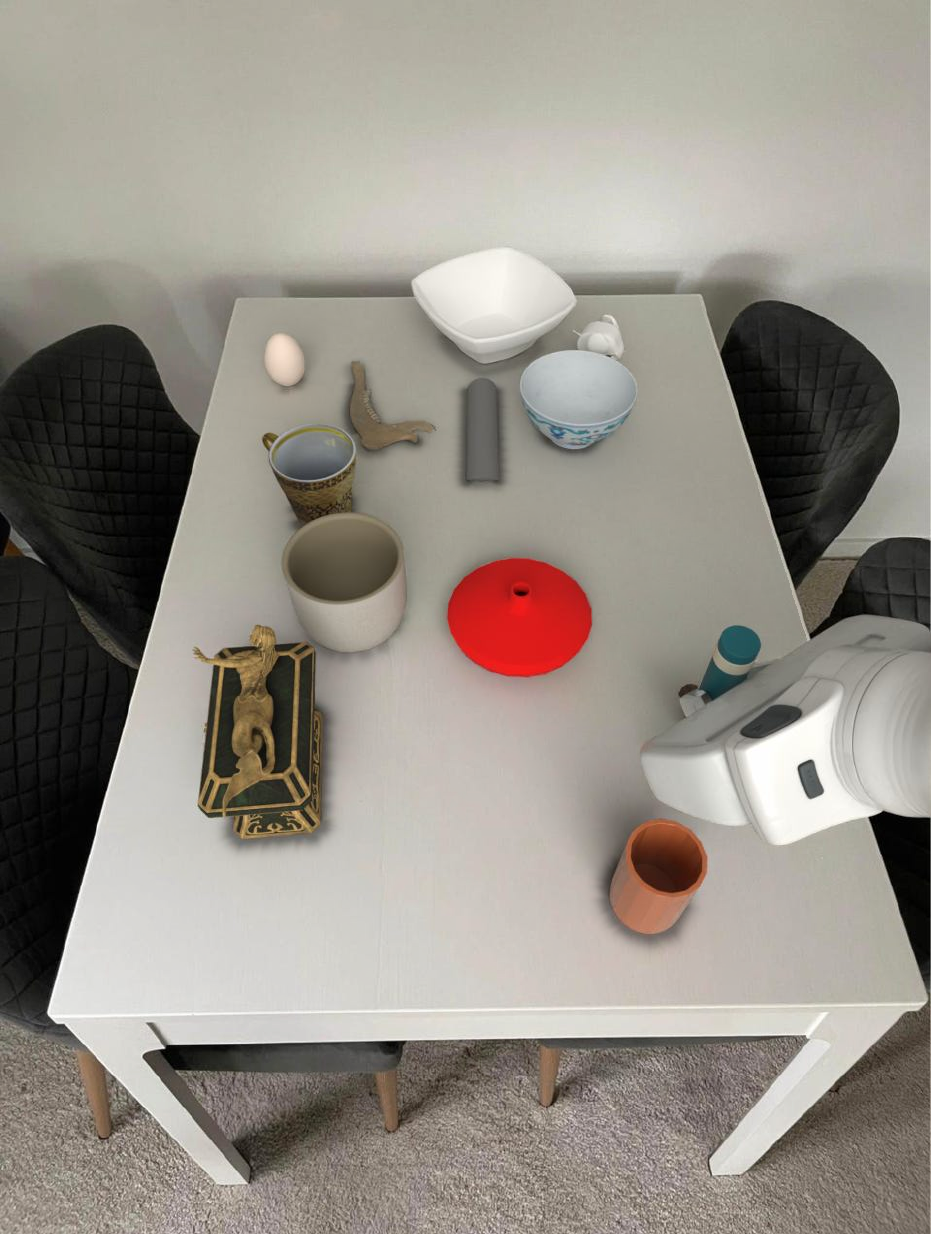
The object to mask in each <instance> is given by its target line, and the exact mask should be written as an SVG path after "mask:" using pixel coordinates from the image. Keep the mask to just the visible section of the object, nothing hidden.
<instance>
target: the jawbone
mask: <svg viewBox="0 0 931 1234" xmlns="http://www.w3.org/2000/svg"><path fill="white" fill-rule="evenodd" d="M351 372H352V375H353V377H354V378H353V379H354V386H353V387H354V388H353V391H352V395H351V398H350V403H349V417H350V421H351V423H352V426H353V427H354V429H355V431H356V432H357V433H358V435H359V436H360V444H361V445H362V447H364V448H365V449H367V450H381V449H383V448H385V447H387V446H389V445H391V444H394V443H397V442H400V441H409V442H411V443H413V444H417V443H418V440H419V439H418V438H419V437H418V433H417V430H423V431H425V432H427V433H429V434H430V433H431V432H432V431H435V432H437V429H436V426H435V425H434V424H432V423H430V422H428V421H426V420H420V419H419V420H417V419H416V420H415V419H414V420H407V421H403V422H399V423H395V424H387V423H386V424H385V423H381V420H380V419H381V418H380V417H379V415H377V412H375V409H374V406H373V405H372V403H371V401H372V399H371V398H372V390H371V389H366V385H365V371H364V367H363V364H362V362H361V361H360V360H358V361H355V360H354V361H351Z"/></svg>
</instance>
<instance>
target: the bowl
mask: <svg viewBox="0 0 931 1234" xmlns="http://www.w3.org/2000/svg"><path fill="white" fill-rule="evenodd" d="M410 286H411V290H412V294H413V297H414V299H415V300H416V302H417V303H418V304H419V306H420V307H421V309H422V310H423V311H424V313H425V314H426V316H427V317H428V318H429V320H430V321H431V322H432V323H433V324H434V326H435V327H436V328H437V329H438V330H439V332H441V333H442V334H443V335H444V336H446V337H447V338H448V339H449V340H450V341H452V342H453V343H454V344H455V346H457V348H458V349H459V350H460V351H461V352H462V353H464V355H466V356H467V357H469V358H471V359H472V360H474V361H476V362H477V363H480V364H492V363H496V362H500V361H504V360H507V359H510V358H513V357H515V356H517V355H519V354H521V353H523V352H524V351H527V350H528V349H530V348H531V347H532V346H533V345H534V344H535V343H536V342H537V341H539V339H540V338H541V337H542V336H543V335H546V334H547V333H549V332H550V331H553V330H555V328H556V327H558V325H560V324H561V323H562V322H563V320H565V318H566V317H567V316H568V315H569V314H570V313H571V311H573V309H574V308H576V305H577V302H578V301H577V298H576V296H575V293H574V292H573V289H572V288H571V287H570V286H569V285H568V284H567V282H566V281H565V280H564V279H563V277H561V276H560V275H558V273H557V272H555V271H554V270H553V268H551V267H549V266H548V265H546V264H545V263H543V262H542V261H540V260H539V259H538V258H536V257H534V256H532V255H531V254H529V253H527V252H524V251H522V250H519V249H517V248H514V247H512V246H500V247H499V246H497V247H489V248H485V249H481V250H478V251H473V252H470V253H469V252H468V253H466V254H463V255H460V256H455V257H453V258H451V259H448V260H445V261H443V262H441V263H440V262H439V263H438V264H436V265H433V266H432V267H430V268H428V269H426V270H424V271H422V272H421V273H420V274H418V275H417V276H416V277H414V278H413V279H412V280H411V282H410Z"/></svg>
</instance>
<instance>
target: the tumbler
mask: <svg viewBox="0 0 931 1234" xmlns="http://www.w3.org/2000/svg"><path fill="white" fill-rule="evenodd" d="M707 873H708V856H707V853H706V850H705V847H704V845H703V843H702V841H701V840H700V838H699V837H697V835H696V834H695V833H694V831H692V829H691V828H688V827H687V826H685V825H683V824H682V823H680V822H678V821H676V820H670V819H664V818H658V819H652V820H647V821H644V822H643V823H642V824H640V825H639V826H637V827H636V828H635V829H634V830H633V831H632V833H631V834H630V836H629V838H628V840H627V842H626V844H625V847H624V849H623V851H622V853H621V856H620V859H619V861H618V863H617V866H616V868H615V871H614V873H613V876H612V879H611V881H610V886H609V901H610V905H611V908H612V910H613V912H614V914H615V915H616V917H617V918H618V919H619V921H620V922H621V923H622V924H624V926H626V927H627V928H629V929H630V930H632V931H633V932H637V933H641V934H645V935H655V934H659V933H663V932H665V931H667V930H668V929H670V928H672V926H674V924H675V923H677V921H678V920H679V918H680V917H681V915H682V914H683V913H684V912H685V909H686V908H687V906H689V903H690V902H691V901H692V899H693V898H694V896H695V895H696V893H697V892H698V890H699V889H700V888H701V886H702V884H703V881H704V879H705V877H706V876H707Z"/></svg>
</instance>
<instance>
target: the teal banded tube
mask: <svg viewBox="0 0 931 1234" xmlns="http://www.w3.org/2000/svg"><path fill="white" fill-rule="evenodd" d="M761 641H762V640H761V638H760V636H759V635H758V634H757V632H755V631H754V630H753V629H752V628H750V627H748V626H745V625H741V624H740V625H739V624H734V625H731V626H727V627H726V628H725V629H724V630H723V631H722V632H721V634H720V636H719V638H718V640H717V642H716V644H715V646H714V649H713V652H712V655H711V657H710V660H709V663H708V665H707V667H706V670H705V672H704V674H703V677H702V679H701V682H700V684H699V686H698V689H699V690H706V691H709V693H710V695H711V698H712V701H713V700H715V699H716V698H718V697H719V696H721V695H723V694H724V693H726V692H727V691H729V690H731V689H732V688H734V687H735V686H737V685H739V684H740V683H742V682H743V681H745V679H746V677H747V675H748V673H749V671H750V670H751V669H752V667H753V665H754V664H756V661H757V659H758V656H759V653H760V651H761V648H762V642H761Z"/></svg>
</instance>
